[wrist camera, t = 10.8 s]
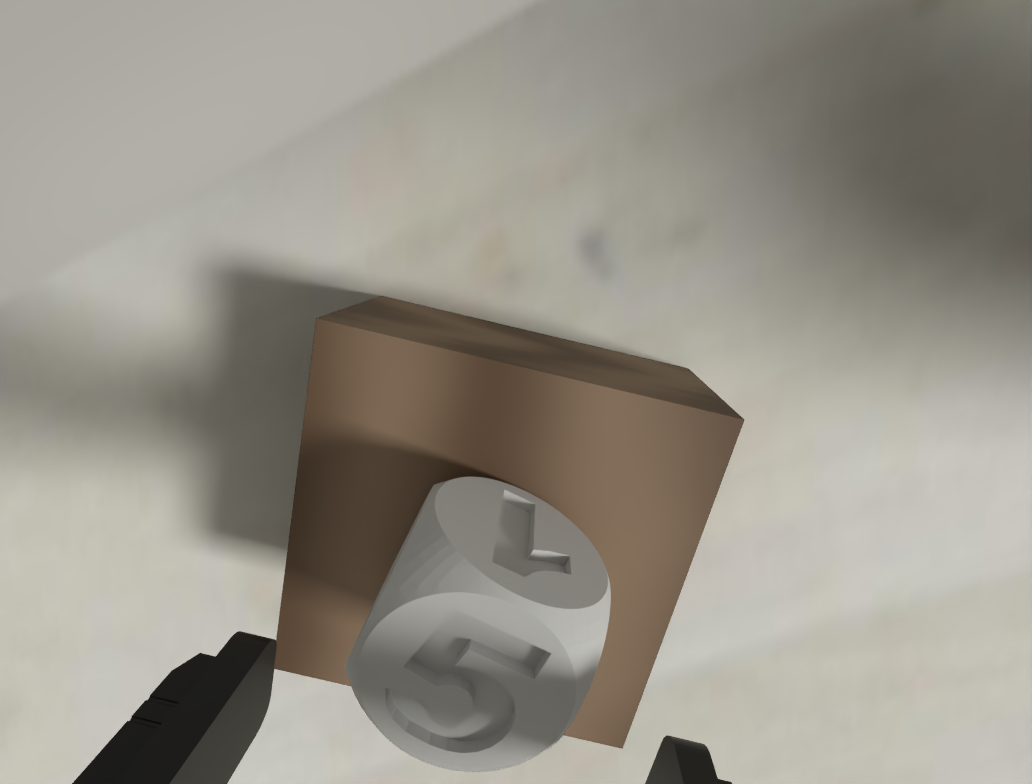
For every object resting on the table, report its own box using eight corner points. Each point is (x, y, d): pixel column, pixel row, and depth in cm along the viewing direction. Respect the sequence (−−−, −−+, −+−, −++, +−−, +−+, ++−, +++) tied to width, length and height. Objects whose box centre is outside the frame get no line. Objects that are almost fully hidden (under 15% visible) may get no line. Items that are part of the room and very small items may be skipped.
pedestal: (689, 369, 21) (744, 419, 15) (604, 625, 24) (622, 748, 18) (381, 296, 20) (316, 318, 15) (339, 564, 24) (272, 668, 18)
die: (602, 526, 16) (626, 650, 11) (525, 649, 17) (517, 807, 12) (449, 451, 16) (405, 547, 11) (382, 583, 17) (317, 720, 12)
